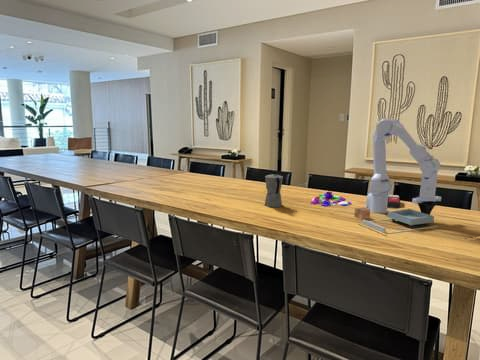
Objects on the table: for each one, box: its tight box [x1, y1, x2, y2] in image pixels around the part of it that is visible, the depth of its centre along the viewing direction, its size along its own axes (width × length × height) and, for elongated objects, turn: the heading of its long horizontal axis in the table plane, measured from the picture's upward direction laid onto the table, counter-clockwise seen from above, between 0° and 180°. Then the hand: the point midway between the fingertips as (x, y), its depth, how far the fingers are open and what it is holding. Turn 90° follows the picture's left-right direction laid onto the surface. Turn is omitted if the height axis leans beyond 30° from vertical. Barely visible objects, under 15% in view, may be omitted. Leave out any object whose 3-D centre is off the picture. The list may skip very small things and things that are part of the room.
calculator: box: [387, 194, 401, 209], centre depth 181 cm, size 11×4×15 cm
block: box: [354, 206, 371, 220], centre depth 152 cm, size 4×4×5 cm
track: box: [357, 218, 438, 237], centre depth 142 cm, size 16×28×3 cm, turn 111°
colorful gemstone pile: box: [310, 190, 352, 207], centre depth 185 cm, size 25×20×4 cm
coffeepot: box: [264, 170, 284, 208], centre depth 174 cm, size 15×9×18 cm, turn 10°
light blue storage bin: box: [387, 208, 435, 229], centre depth 144 cm, size 12×12×4 cm
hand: (424, 218), depth 147 cm, fingers closed
